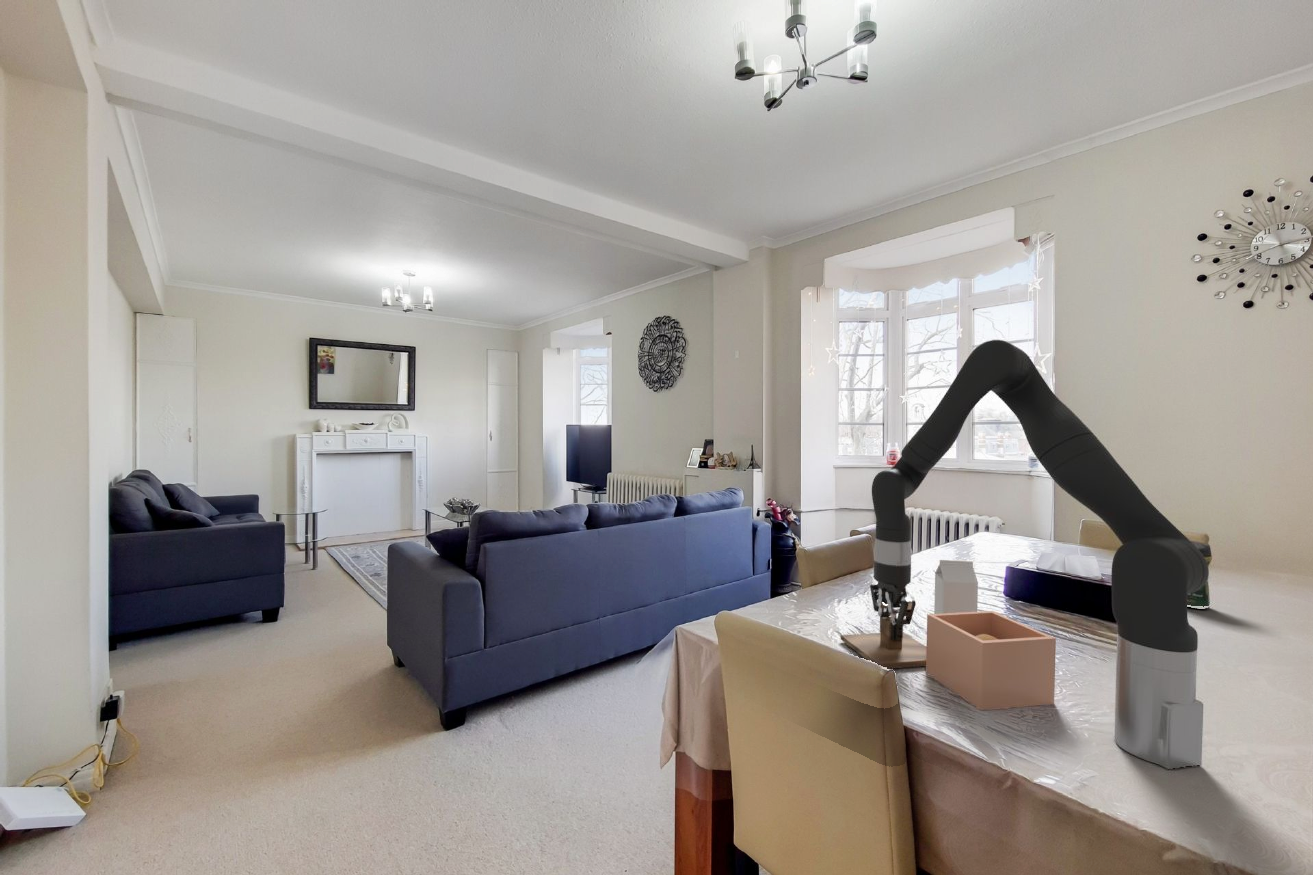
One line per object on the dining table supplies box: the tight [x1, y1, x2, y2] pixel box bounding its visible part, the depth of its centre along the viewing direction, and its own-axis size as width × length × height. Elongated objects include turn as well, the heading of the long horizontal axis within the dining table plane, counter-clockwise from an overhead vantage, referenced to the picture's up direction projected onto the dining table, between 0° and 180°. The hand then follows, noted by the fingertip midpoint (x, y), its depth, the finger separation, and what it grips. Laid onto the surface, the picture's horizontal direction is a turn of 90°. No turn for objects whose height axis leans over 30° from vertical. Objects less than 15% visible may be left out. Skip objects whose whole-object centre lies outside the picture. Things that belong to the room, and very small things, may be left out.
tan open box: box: [925, 610, 1057, 711], centre depth 107 cm, size 15×15×12 cm
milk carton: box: [933, 559, 979, 614], centre depth 129 cm, size 7×7×19 cm
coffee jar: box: [1187, 540, 1213, 607], centre depth 158 cm, size 10×8×19 cm
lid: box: [840, 616, 927, 669], centre depth 122 cm, size 16×16×7 cm
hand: (890, 636), depth 122 cm, fingers open, 3 cm apart
